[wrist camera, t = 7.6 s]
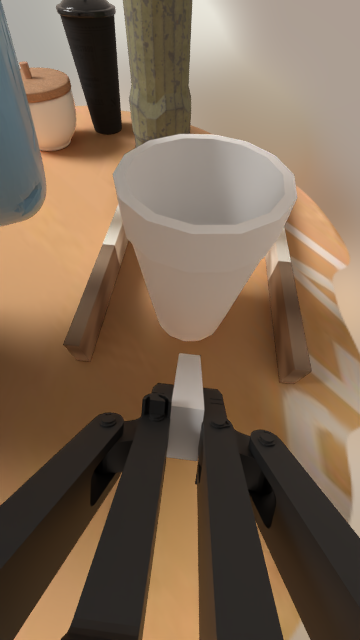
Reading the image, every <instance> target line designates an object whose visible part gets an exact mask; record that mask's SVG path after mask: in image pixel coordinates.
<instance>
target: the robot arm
mask: <svg viewBox="0 0 360 640" xmlns="http://www.w3.org/2000/svg"><path fill="white" fill-rule="evenodd" d="M45 196H46V178H45V172H44V167H43V162H42V157H41V153H40V148H39V144H38V139H37V135H36V131H35V127H34V123H33V119H32V115H31V111H30V107H29V104H28V100H27V96H26V92H25V88H24V84H23V80H22V76H21V73H20V69H19V65H18V61H17V58H16V54H15V50H14V47H13V43H12V39H11V36H10V32H9V28H8V24H7V21H6V17H5V14H4V10H3V6H2V3H1V0H0V227H1V226H5V225H9V224H13V223H17V222H21V221H24V220H27V219H29V218H31V217H32V216H33V215H35V214H36V213H37V212H38V211H39V210H40V208H41V207H42V205H43V203H44V200H45ZM166 457H169V458H177V459H185V460H192V461H197V460H198V467H197V474H196V481H195V484H197V502H198V571H199V640H283V635H282V631H281V627H280V623H279V619H278V614H277V610H276V606H275V602H274V598H273V593H272V589H271V585H270V581H269V576H268V572H267V568H266V564H265V560H264V555H263V551H262V547H261V543H260V539H259V534H258V530H257V526H256V523H257V525H258V527H259V529H260V532H261V534H262V536H263V538H264V540H265V542H266V545H267V547H268V549H269V551H270V553H271V555H272V558H273V560H274V562H275V564H276V566H277V568H278V570H279V573H280V575H281V577H282V579H283V581H284V583H285V586H286V588H287V590H288V592H289V594H290V596H291V599H292V601H293V603H294V605H295V607H296V609H297V612H298V614H299V616H300V618H301V620H302V622H303V624H304V627H305V629H306V631H307V633H308V635H309V637H310V639H311V640H360V538H359V537H358V535H357V534H356V533H355V532H354V530H353V529H352V528H351V527H350V525H349V524H348V523H347V522H346V520H345V519H344V518H343V517H342V515H341V514H340V513H339V512H338V510H337V509H336V508H335V507H334V505H333V504H332V503H331V502H330V501H329V499H328V498H327V497H326V496H325V494H324V493H323V492H322V491H321V489H320V488H319V487H318V486H317V484H316V483H315V482H314V481H313V479H312V478H311V477H310V476H309V474H308V473H307V472H306V471H305V469H304V468H303V467H302V466H301V464H300V463H299V462H298V461H297V460H296V458H295V457H294V456H293V455H292V453H291V452H290V451H289V450H288V448H287V447H286V446H285V445H284V443H283V442H282V441H281V440H280V439H279V438H278V437H277V436H276V435H274V434H273V433H271V432H269V431H265V430H255V431H253V432H252V433H251V436H248V435H245V434H242V433H240V432H238V431H236V430H234V429H233V425H232V423H231V422H230V421H229V420H228V419H227V415H226V411H225V406H224V401H223V397H222V394H221V393H220V392H219V391H218V389H209V388H203V384H202V371H201V357H200V355H193V354H184V353H179V358H178V364H177V370H176V377H175V383H174V385H170V384H161V383H158V384H157V385H155V386H154V387H153V390H152V393H151V394H148V395H146V396H145V397H144V398H143V402H142V415H141V417H140V418H139V419H136V420H132V421H124V420H123V417H122V416H121V415H119V414H117V413H103V414H100V415H98V416H97V417H95V418H94V419H93V420H92V421H91V422H90V423H89V424H88V425H87V426H86V427H85V428H83V429H82V430H81V431H80V432H79V433H78V434H77V435H76V436H75V437H74V438H73V439H72V440H71V441H70V442H68V443H67V444H66V445H65V446H64V447H63V448H62V449H61V450H60V451H59V452H58V453H57V454H56V455H54V456H53V457H52V458H51V459H50V460H49V461H48V462H47V463H46V464H45V465H44V466H43V467H42V468H41V469H39V470H38V471H37V472H36V473H35V474H34V475H33V476H32V477H31V478H30V479H29V480H28V481H27V482H26V483H24V484H23V485H22V486H21V487H20V488H19V489H18V490H17V491H16V492H15V493H14V494H13V495H12V496H11V497H9V498H8V499H7V500H6V501H5V502H4V503H3V504H2V505H1V506H0V640H13V639H14V638H15V636H16V635H17V633H18V632H19V630H20V629H21V627H22V626H23V624H24V623H25V621H26V619H27V618H28V616H29V615H30V613H31V612H32V610H33V609H34V607H35V606H36V604H37V603H38V601H39V599H40V598H41V596H42V595H43V593H44V592H45V590H46V589H47V587H48V586H49V584H50V583H51V581H52V579H53V578H54V576H55V575H56V573H57V572H58V570H59V569H60V567H61V566H62V564H63V563H64V561H65V559H66V558H67V556H68V555H69V553H70V552H71V550H72V549H73V547H74V546H75V544H76V543H77V541H78V539H79V538H80V536H81V535H82V533H83V532H84V530H85V529H86V527H87V526H88V524H89V523H90V521H91V519H92V518H93V516H94V515H95V513H96V512H97V510H98V509H99V507H100V506H101V504H102V503H103V501H104V499H105V498H106V496H107V495H108V493H109V492H110V490H111V489H112V487H113V486H114V484H115V483H116V481H117V480H118V478H119V476H120V474H121V472H122V475H121V478H120V481H119V484H118V487H117V490H116V493H115V496H114V499H113V502H112V505H111V508H110V511H109V514H108V517H107V520H106V523H105V526H104V529H103V531H102V534H101V537H100V540H99V543H98V546H97V549H96V552H95V555H94V558H93V561H92V564H91V567H90V570H89V573H88V576H87V579H86V582H85V585H84V588H83V591H82V594H81V597H80V600H79V603H78V606H77V609H76V612H75V615H74V618H73V621H72V623H71V626H70V628H69V630H68V632H67V633H66V634H65V635H64V636H63V637H62V638H61V640H142V636H143V628H144V621H145V613H146V606H147V599H148V591H149V584H150V576H151V569H152V561H153V554H154V547H155V539H156V532H157V524H158V517H159V509H160V502H161V495H162V487H163V480H164V472H165V464H166ZM255 521H256V522H255Z"/></svg>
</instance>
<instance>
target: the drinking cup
mask: <svg viewBox="0 0 360 640" xmlns="http://www.w3.org/2000/svg"><path fill="white" fill-rule="evenodd" d="M56 9H57V12H58V14H60V16H61V19H62V22H63V26H64V29H65V32H66V36H67V39H68V42H69V45H70V49H71V52H72V56H73V59H74V62H75V66H76V69H77V72H78V75H79V79H80V82H81V85H82V89H83V92H84V95H85V99H86V102H87V105H88V109H89V112H90V115H91V118H92V122H93V125H94V128H95V130H96V131H97V132H98V133H101V134H113V133H117V132H119V131H120V130H121V129H122V123H121V109H120V95H119V80H118V67H117V52H116V37H115V23H114V14H115V12H116V11H115V6H113V5H112V4H110V3H109V2H108V1H106V0H62V1H61V3H60V4H58V5H57V6H56Z"/></svg>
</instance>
